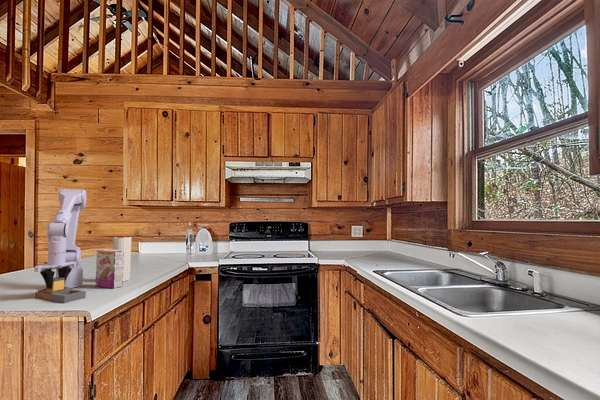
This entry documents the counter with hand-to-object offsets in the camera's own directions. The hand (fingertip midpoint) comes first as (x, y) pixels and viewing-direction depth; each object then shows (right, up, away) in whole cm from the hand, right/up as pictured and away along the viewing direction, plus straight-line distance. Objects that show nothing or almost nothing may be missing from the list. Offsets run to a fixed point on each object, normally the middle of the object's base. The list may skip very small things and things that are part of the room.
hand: (55, 287), depth 128 cm
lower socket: (+8, -3, -4) cm, 10 cm away
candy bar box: (+11, -5, +17) cm, 21 cm away
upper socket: (0, -3, 0) cm, 3 cm away
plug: (0, -1, 0) cm, 1 cm away
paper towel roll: (+10, -5, +28) cm, 30 cm away
